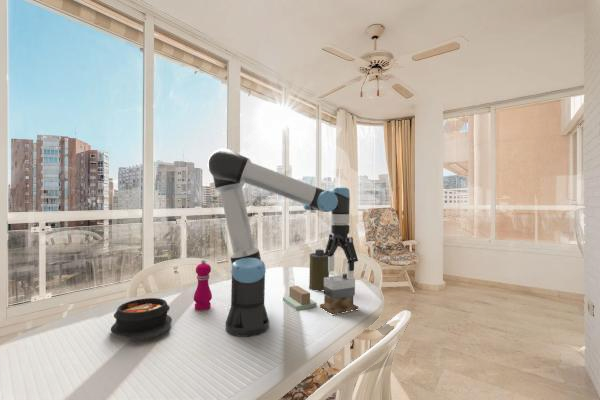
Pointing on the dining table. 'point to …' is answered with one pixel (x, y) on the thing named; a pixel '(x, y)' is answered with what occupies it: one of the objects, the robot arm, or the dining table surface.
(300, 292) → the stand
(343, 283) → the cover plate
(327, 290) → the base plate
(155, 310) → the casserole
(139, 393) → the dining table surface
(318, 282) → the canister
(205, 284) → the pepper mill
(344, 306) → the stand
